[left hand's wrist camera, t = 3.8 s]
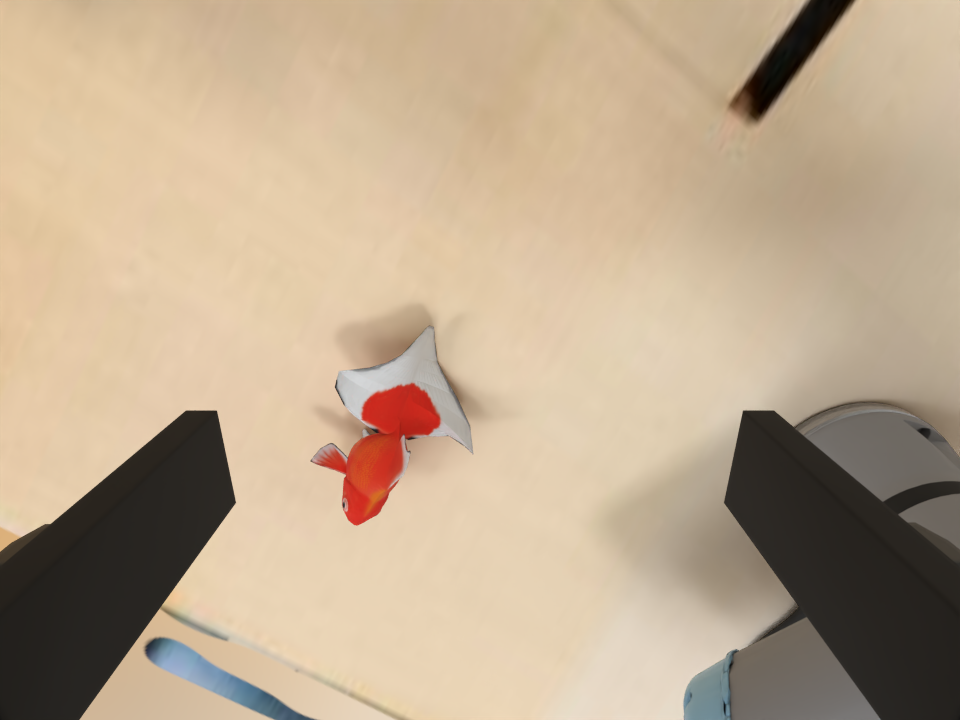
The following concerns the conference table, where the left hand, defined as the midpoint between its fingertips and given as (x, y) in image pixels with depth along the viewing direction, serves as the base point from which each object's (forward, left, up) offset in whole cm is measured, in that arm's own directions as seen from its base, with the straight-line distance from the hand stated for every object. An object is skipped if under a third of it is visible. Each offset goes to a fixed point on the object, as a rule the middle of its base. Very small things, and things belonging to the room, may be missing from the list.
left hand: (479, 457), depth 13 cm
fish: (-8, +10, -27) cm, 30 cm away
